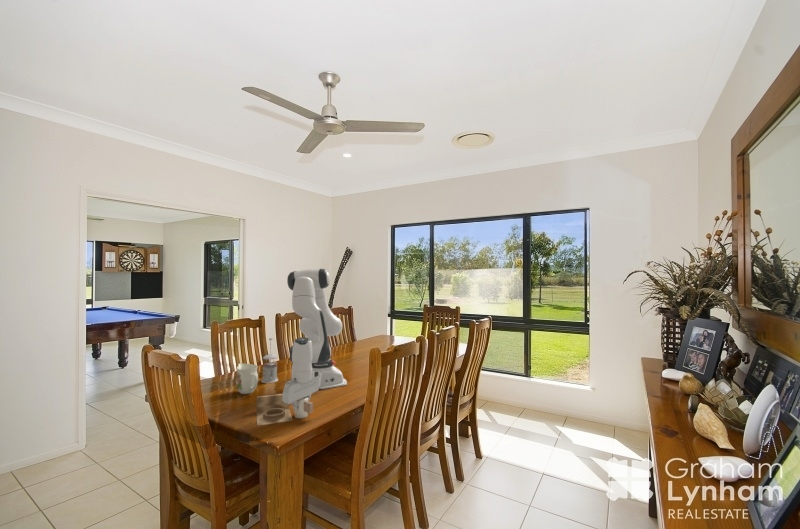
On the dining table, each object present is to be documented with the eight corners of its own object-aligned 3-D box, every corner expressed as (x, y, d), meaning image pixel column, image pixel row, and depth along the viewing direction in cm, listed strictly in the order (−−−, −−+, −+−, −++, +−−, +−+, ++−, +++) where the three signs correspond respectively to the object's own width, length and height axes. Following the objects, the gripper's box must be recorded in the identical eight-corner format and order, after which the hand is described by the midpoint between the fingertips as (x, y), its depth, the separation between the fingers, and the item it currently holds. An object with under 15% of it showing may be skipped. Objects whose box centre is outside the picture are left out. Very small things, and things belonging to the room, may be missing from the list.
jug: (292, 416, 154) (292, 398, 155) (302, 412, 159) (303, 395, 159) (305, 422, 148) (306, 404, 149) (316, 418, 153) (316, 400, 153)
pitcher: (246, 399, 178) (246, 371, 178) (229, 391, 189) (229, 365, 190) (266, 393, 186) (266, 367, 187) (248, 386, 198) (249, 361, 198)
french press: (276, 377, 216) (277, 336, 216) (281, 382, 206) (282, 339, 207) (259, 379, 210) (260, 337, 211) (263, 384, 201) (264, 340, 201)
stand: (288, 410, 164) (289, 392, 165) (292, 424, 150) (292, 404, 150) (256, 414, 159) (256, 396, 159) (256, 429, 144) (257, 409, 144)
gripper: (290, 383, 145) (290, 417, 144) (322, 370, 163) (321, 401, 163) (279, 381, 147) (278, 414, 147) (311, 369, 166) (310, 398, 166)
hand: (301, 407), depth 155 cm, fingers closed on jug, 5 cm apart
